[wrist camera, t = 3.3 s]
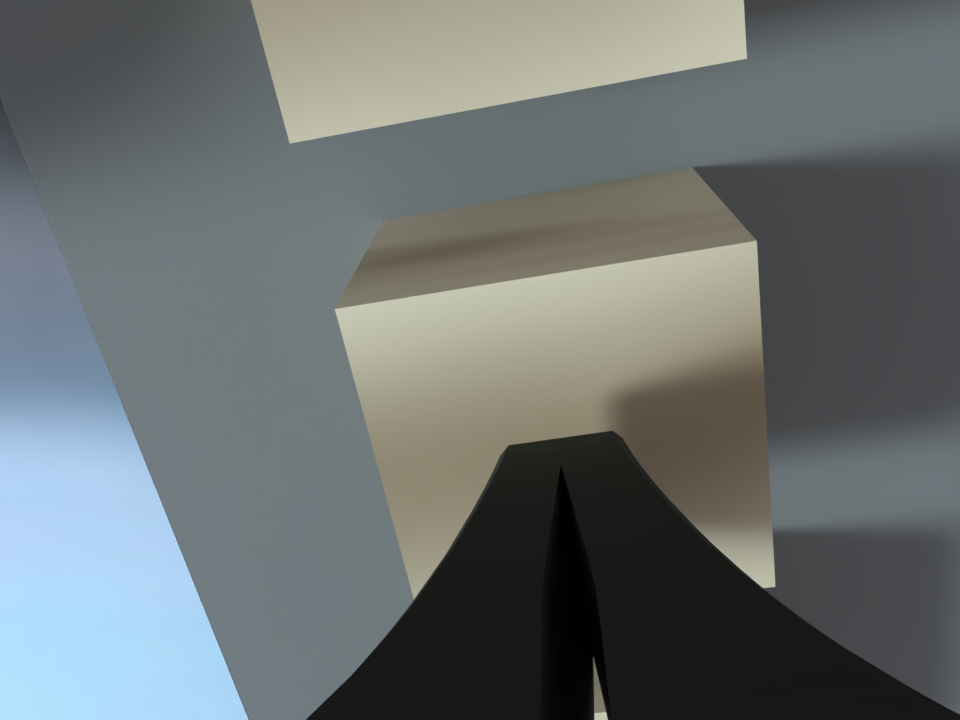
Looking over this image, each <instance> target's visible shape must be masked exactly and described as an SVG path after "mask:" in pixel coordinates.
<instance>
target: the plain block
mask: <svg viewBox="0 0 960 720" xmlns="http://www.w3.org/2000/svg"><path fill="white" fill-rule="evenodd" d="M335 312H336V315H337V319H338V323H339V326H340V330H341V334H342V337H343V341H344V345H345V348H346V352H347V356H348V359H349V363H350V367H351V370H352V374H353V378H354V381H355V385H356V389H357V392H358V396H359V400H360V403H361V407H362V411H363V414H364V418H365V422H366V425H367V429H368V433H369V436H370V440H371V444H372V447H373V451H374V455H375V458H376V462H377V466H378V469H379V473H380V477H381V480H382V484H383V488H384V491H385V495H386V499H387V503H388V506H389V510H390V514H391V517H392V521H393V525H394V528H395V532H396V536H397V539H398V543H399V547H400V550H401V554H402V558H403V561H404V565H405V569H406V572H407V576H408V580H409V583H410V587H411V591H412V594H413V598H414V599H415V597H416V596H417V595H418V593H419V592H420V590H421V589H422V587H423V586H424V585H425V583H426V582H427V580H428V579H429V577H430V576H431V575H432V573H433V572H434V570H435V569H436V568H437V566H438V565H439V563H440V562H441V560H442V559H443V557H444V556H445V554H446V553H447V551H448V550H449V548H450V547H451V545H452V543H453V542H454V540H455V538H456V537H457V535H458V533H459V532H460V530H461V528H462V527H463V525H464V523H465V522H466V520H467V518H468V517H469V515H470V513H471V512H472V510H473V508H474V507H475V505H476V503H477V501H478V499H479V497H480V496H481V494H482V492H483V490H484V488H485V486H486V484H487V482H488V480H489V478H490V476H491V474H492V472H493V470H494V468H495V466H496V464H497V462H498V460H499V457H500V455H501V454H502V453H503V451H504V450H505V449H506V448H507V447H508V445H514V444H521V443H528V442H535V441H542V440H550V439H557V438H564V437H571V436H578V435H585V434H592V433H599V432H606V431H614V432H615V433H617V434H618V435H619V436H621V437H622V438H623V439H624V441H625V443H626V444H627V446H628V448H629V449H630V451H631V452H632V454H633V455H634V457H635V458H636V460H637V461H638V462H639V464H640V465H641V466H642V468H643V469H644V470H645V471H646V473H647V474H648V475H649V476H650V478H651V479H652V480H653V481H654V482H655V484H656V485H657V486H658V487H659V488H660V490H661V491H662V492H663V493H664V494H665V495H666V496H667V498H668V499H669V500H670V501H671V502H672V503H673V504H674V505H675V506H676V507H677V508H678V509H679V510H680V511H681V512H682V513H683V515H684V516H685V517H686V518H687V519H688V520H689V521H690V522H691V523H692V524H693V525H694V526H695V527H696V528H697V529H698V530H699V531H700V532H701V533H702V534H703V535H704V536H705V537H706V538H707V539H708V540H709V541H710V542H711V543H712V544H713V545H714V546H715V547H717V548H718V549H719V550H720V551H721V552H722V553H723V554H724V555H725V556H726V557H728V558H729V559H730V560H731V561H732V562H733V563H734V564H735V565H736V566H738V567H739V568H740V569H741V570H742V571H743V572H744V573H746V574H747V575H748V576H749V577H750V578H751V579H753V580H754V581H755V582H756V583H757V584H759V585H760V586H761V587H762V588H769V587H775V569H774V551H773V532H772V514H771V495H770V477H769V458H768V439H767V421H766V402H765V384H764V365H763V347H762V328H761V310H760V291H759V273H758V254H757V240H756V239H755V238H754V237H753V236H752V235H751V234H750V233H749V231H748V230H747V229H746V228H745V227H744V226H743V225H742V223H741V222H740V221H739V220H738V219H737V218H736V217H735V216H734V214H733V213H732V212H731V211H730V210H729V209H728V208H727V206H726V205H725V204H724V203H723V202H722V201H721V200H720V198H719V197H718V196H717V195H716V194H715V193H714V192H713V191H712V189H711V188H710V187H709V186H708V185H707V184H706V183H705V181H704V180H703V179H702V178H701V177H700V176H699V175H698V174H697V172H696V171H695V170H694V169H693V168H692V167H689V168H684V169H678V170H672V171H666V172H661V173H655V174H649V175H643V176H637V177H632V178H626V179H620V180H614V181H609V182H603V183H597V184H591V185H585V186H580V187H574V188H568V189H562V190H556V191H551V192H545V193H539V194H533V195H528V196H522V197H516V198H510V199H504V200H499V201H493V202H487V203H481V204H475V205H470V206H464V207H458V208H452V209H447V210H441V211H435V212H429V213H423V214H418V215H412V216H406V217H400V218H394V219H389V220H383V221H382V223H381V225H380V226H379V228H378V230H377V232H376V234H375V236H374V237H373V239H372V241H371V243H370V245H369V247H368V249H367V250H366V252H365V254H364V256H363V258H362V260H361V262H360V263H359V265H358V267H357V269H356V271H355V273H354V275H353V276H352V278H351V280H350V282H349V284H348V286H347V287H346V289H345V291H344V293H343V295H342V297H341V299H340V300H339V302H338V304H337V306H336V308H335Z"/></svg>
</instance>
